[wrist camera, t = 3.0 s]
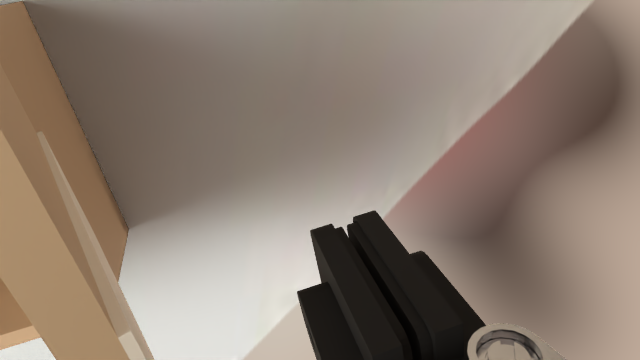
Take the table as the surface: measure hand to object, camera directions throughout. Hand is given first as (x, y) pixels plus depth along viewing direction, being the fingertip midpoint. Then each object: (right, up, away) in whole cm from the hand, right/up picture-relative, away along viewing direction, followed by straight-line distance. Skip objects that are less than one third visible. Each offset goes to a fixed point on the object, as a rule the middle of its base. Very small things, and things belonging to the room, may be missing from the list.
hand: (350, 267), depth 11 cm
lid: (-8, -1, +2) cm, 8 cm away
